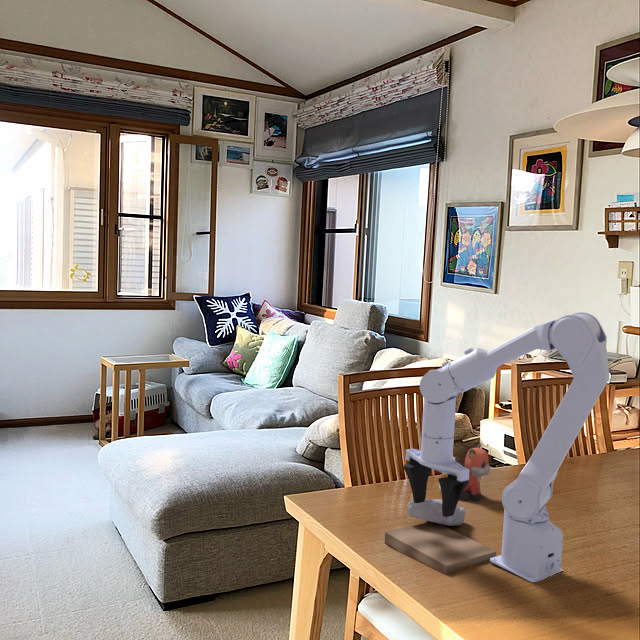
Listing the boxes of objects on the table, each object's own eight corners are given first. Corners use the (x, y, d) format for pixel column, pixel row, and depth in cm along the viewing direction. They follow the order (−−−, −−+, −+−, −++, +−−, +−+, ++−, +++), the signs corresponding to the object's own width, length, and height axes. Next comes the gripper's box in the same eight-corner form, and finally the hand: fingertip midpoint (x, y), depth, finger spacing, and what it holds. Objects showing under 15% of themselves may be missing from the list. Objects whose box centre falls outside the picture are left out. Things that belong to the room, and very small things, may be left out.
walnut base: (495, 562, 125) (496, 551, 125) (445, 577, 118) (446, 565, 118) (432, 531, 138) (433, 521, 138) (384, 542, 131) (385, 532, 131)
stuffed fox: (440, 488, 164) (443, 437, 163) (489, 495, 160) (493, 443, 159) (433, 498, 157) (436, 444, 156) (485, 506, 153) (488, 451, 152)
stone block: (402, 524, 135) (454, 525, 131) (402, 498, 136) (454, 498, 132) (418, 526, 145) (467, 527, 141) (418, 502, 147) (466, 502, 143)
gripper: (483, 442, 124) (478, 518, 125) (426, 424, 136) (422, 493, 137) (454, 447, 120) (449, 525, 121) (398, 427, 132) (394, 499, 133)
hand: (433, 508), depth 129 cm, fingers open, 7 cm apart
